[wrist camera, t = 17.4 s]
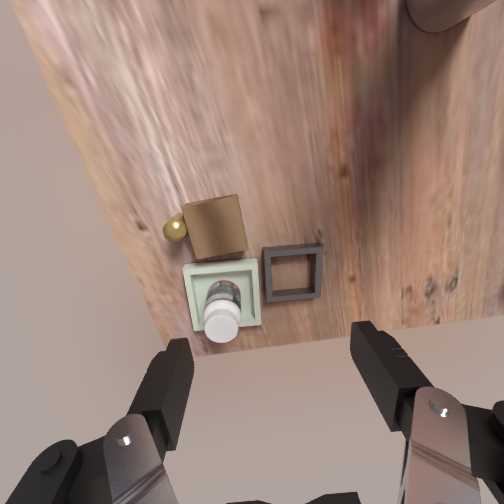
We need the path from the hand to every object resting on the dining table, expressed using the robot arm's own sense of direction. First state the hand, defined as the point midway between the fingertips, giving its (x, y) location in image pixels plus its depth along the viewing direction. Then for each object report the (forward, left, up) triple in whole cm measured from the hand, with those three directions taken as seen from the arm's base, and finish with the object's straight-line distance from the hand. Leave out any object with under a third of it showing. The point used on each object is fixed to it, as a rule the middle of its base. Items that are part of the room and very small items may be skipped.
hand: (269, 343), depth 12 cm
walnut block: (+5, +1, -29) cm, 29 cm away
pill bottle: (+5, +13, -28) cm, 31 cm away
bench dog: (+10, 0, -29) cm, 30 cm away
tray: (+5, +13, -29) cm, 32 cm away
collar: (-7, +10, -29) cm, 31 cm away
